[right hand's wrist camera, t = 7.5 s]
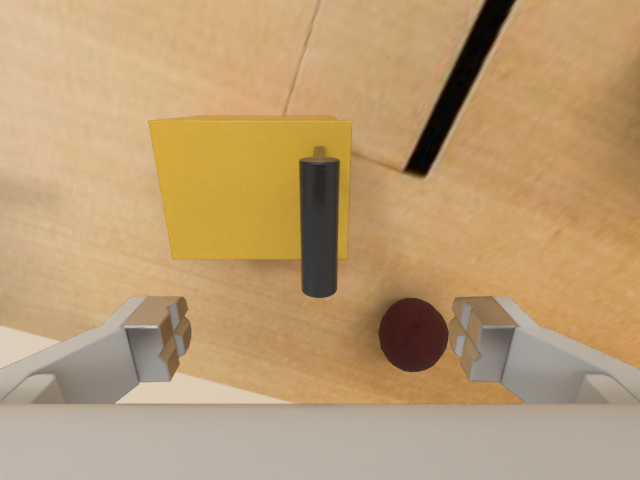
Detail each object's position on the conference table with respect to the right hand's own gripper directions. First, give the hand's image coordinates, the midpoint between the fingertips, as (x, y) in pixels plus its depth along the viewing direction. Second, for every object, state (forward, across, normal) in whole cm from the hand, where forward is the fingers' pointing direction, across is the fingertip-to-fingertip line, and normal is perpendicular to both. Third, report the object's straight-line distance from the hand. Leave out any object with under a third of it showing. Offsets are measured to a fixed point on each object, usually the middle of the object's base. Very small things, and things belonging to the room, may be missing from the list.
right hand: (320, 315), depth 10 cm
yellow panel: (+16, -5, 0) cm, 17 cm away
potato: (+25, +10, -17) cm, 32 cm away
